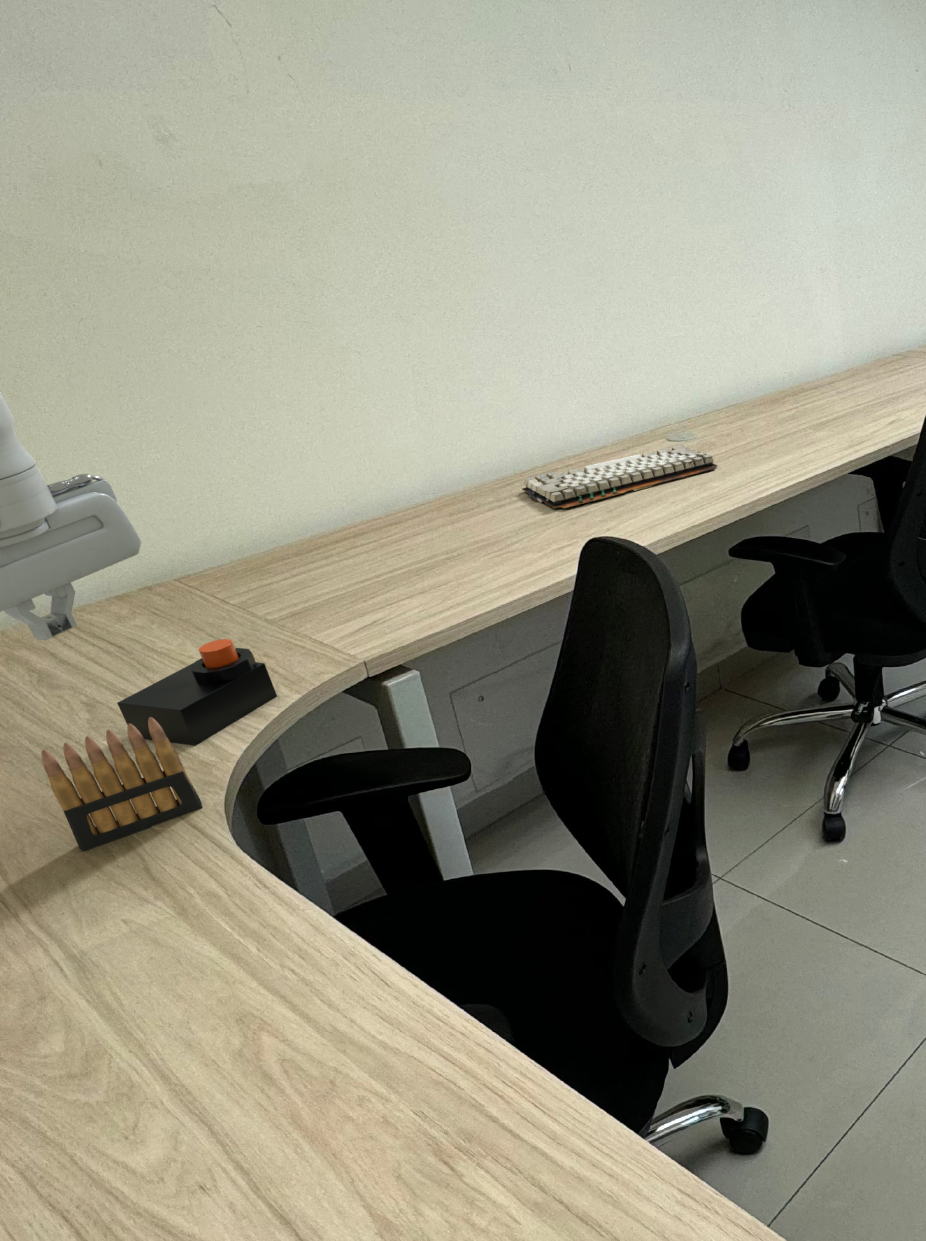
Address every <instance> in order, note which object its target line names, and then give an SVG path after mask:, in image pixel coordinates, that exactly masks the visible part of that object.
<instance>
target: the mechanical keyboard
mask: <svg viewBox="0 0 926 1241" xmlns="http://www.w3.org/2000/svg"><path fill="white" fill-rule="evenodd" d="M714 462H715V460H714V458H713V455H712V454H709V453H707V452H705V451H703V452H702V451H700V450H695V449H691V447H689V446H685V445H684V444H679V445H676V446H672V447H671V449H670V448H669V447H666V448H663V449H658V450H656V452H655V451H650V452H645V453H642V454H641V455H640V454H634V455H633V454H632V455H630V456H625V457H620V458H615V459H611V460H607V461H602V462H598V463H594V464H590V465H586V466H584V469H582V468H581V467H579V468H574V469H570V470H567V473H566V472H565V471H561V472H558V473H557V472H555V471H554V470H551V471H549V472H546V475H544V474H543V473H540V474H537V475H535V476H534V477H533V476H527V477H524V480H523V485H525V487H522V488H521V491H524V492H526V494H527V495H528V496H529V498H530V499H533V500H534V502H539V503H540V504H542V502H543V503H545V504H546V505H547V506H549V507H552V508H553V509H556V508H562V509H567V508H571V507H574V506H579V505H582V504H587V503H590V502H595V501H599V500H602V499H606V498H610V497H614V496H619V495H621V494H625V493H627V492H630V491H634V492H636V491H639V490H643V489H647V488H651V487H652V486H655V485H659V484H662V483H666V482H669V481H675V480H677V479H683V478H686V477H689V476H693V475H698V474H701V473H705V472H709V471H713V470H715V468H716V467H718V464H715V463H714Z"/></svg>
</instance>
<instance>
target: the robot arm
mask: <svg viewBox="0 0 926 1241" xmlns="http://www.w3.org/2000/svg"><path fill="white" fill-rule="evenodd" d="M16 431H17V430H16V420H15V418H14V416H13V413H12V411H11V409H10V407H9V405H8V404H7V401H6V399H5V398H4V396H3V394H2V392H1V391H0V613H2V612H4V613H5V614H6V615H8V616H10V617H11V618H14V619H15V620H17V621H19V622H21V623H23V624H25V625H27V626H28V628H29V630H30V632H31V634H32V635H33V637H34V638H35V639H36V640H39V641H48V640H50V639H53V638H54V637H57V636H59V635H61V634H64V633H66V632H68V631H70V630H72V629H75V628H76V627H77V626H78V624H77V622H76V620H75V617H74V616H73V613H72V611H73V606H74V602H75V601H74V600H75V596H76V590H75V589H74V587H73V584H72V583H73V582H76V581H77V580H81V579H83V578H86V577H88V576H89V575H92V574H95V573H97V572H99V571H101V570H104V569H106V568H109V567H112V566H114V565H116V564H118V563H121V562H123V561H126V560H128V559H130V558H133V557H135V556H137V555H138V554H140V551H141V548H142V540H141V537H140V536H139V534H138V532H137V530H136V528H135V526H134V525H133V523H132V522H131V519H129V517H128V515H127V514H126V512H125V511H124V510H123V508H122V507H121V505H120V504H119V503H118V499H117V496H116V494H115V491H114V489H113V487H112V485H111V483H109V481H108V480H106V479H104V478H103V477H101V476H98V475H90V474H88V473H82V474H78V475H74V476H72V477H71V478H68V479H66V480H62V481H56V482H53V483H50V484H47V483H46V481H45V478H44V477H43V474H42V472H41V470H40V468H39V465H38V464H37V462H36V459H35V458H34V457H33V456H32V454H31V453H30V452H29V451H28V450H26V448H25V447H24V446H23V444H22V443H21V441H20V439H19V437H18V435H17V432H16ZM42 595H45V596H47V597H51V602H50V603H51V604H50V613H47V614H46V615H43V616H42V617H40V616H39V615H37V614H35V613H34V612H32V611H33V610H36V605H35V603H34V601H33V599H35V598H37V597H39V596H42Z"/></svg>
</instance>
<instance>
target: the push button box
mask: <svg viewBox="0 0 926 1241" xmlns="http://www.w3.org/2000/svg"><path fill="white" fill-rule="evenodd" d="M235 650H236V652H237V654H238V657H239V659H238V660H236V661H234V662H232V663H230V664H228V665H224V666H221V667H215V668H206V667H205V664H204V662H203V659H202V657H201V658H199V659H197V660H195V661H194V662H193V663H190V664H189V665H186V666H185V667H183V668H181V669H179V670H176V671H175V672H173V673H171V674H170V675H167V676H165V677H164V678H162V679H159V680H158V681H156V682H153V683H152V684H150V685H149V686H146V687H145V688H142V689H141V690H139V691H137V692H135V693H133V694H131V695H129V696H127V697H125V698H124V699H122V700H120V701H118V702H117V703H116V704H117V707H118V708H119V710H120V712H121V714H122V716H123V719H124V721H125V723H126V724H127V726H128V724H129V723H130V724H132V725H134V726H135V727H136V728H137V729H138V731H139V732H140V733H141V735H142V736H143V738H144V740H149V741H153V740H152V737H151V735H150V731H149V726H148V720H149V717H152V718H153V719H155V720H156V721H157V722H158V723H159V725H160V726H161V727H162V729H163V731H164V732H165V734H166V736H167V738H168V740H169V741H170V743H171V744H172V743H173V744H178V745H179V744H180V745H186V746H195V747H196V746H198V745H199V744H201V743H203V742H204V741H206V740H207V739H209V738H211V737H213V736H214V735H216V734H217V733H219V732H221V731H223V730H225V729H226V728H228V727H229V726H231V725H233V724H234V723H236V722H237V721H239V720H241V719H243V718H244V717H247V716H248V715H250V714H251V713H253V712H254V711H256V710H257V709H259V708H261V707H262V706H264V705H266V704H267V703H269V702H271V701H272V700H274V699H276V698H277V697H278V694H277V692H276V689H275V688H274V687H275V686H274V684H273V681H272V679H271V677H270V673H269V671H268V669H267V666H266V663H265V662H256V660H255V657H254V654H253V652H252V651H251V650H250V649H249V648H243V647H235Z"/></svg>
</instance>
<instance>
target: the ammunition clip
mask: <svg viewBox="0 0 926 1241" xmlns="http://www.w3.org/2000/svg"><path fill="white" fill-rule="evenodd" d="M148 726H149V731H150V735H151V737H152V740H151V741H152V743H153V745H154V748H155V753H156V755H155V754H154V752H153V751H152V750H151V748H150V747H149V745H148V743H147V741H146V739H144V738H143V736H142V735H141V733H140V732H139V731H138V729H137V728H136V727H135V726H134V725H132V724H130V723H129V724H128V725H127V727H126V728H127V731H126V732H127V737H128V740H129V743H130V745H131V748H132V751H133V753H134V756H135V761H136V763H135V761H134V760H133V758H132V757H131V756H130V754H129V753H128V751H127V749H126V748H125V745H124V744H123V742H122V741H121V739H120V738H119V737H118V736H117V735H116V734H115V733H114V732H113V731H112V730H111V729H107V730H106V732H105V739H106V744H107V747H108V750H109V752H110V754H111V758H112V760H113V763H114V764H113V765H114V766H112V765H111V763H110V762H109V760H108V759H107V757H106V756H105V754H104V752H103V750H102V749H101V747H100V746H99V744H98V743H97V742H96V741H95V740H94V739H93V738H92V737H91V736H89V735H87V736H85V738H84V746H85V751H86V754H87V757H88V759H89V761H90V764H91V766H92V769H93V773H92V772H91V771H90V769H88V767H87V766H86V763H85V762H84V761H83V759H82V757H81V755H80V754H79V753H78V752H77V750H76V749H75V748H74V747H73V746H72V745H71V744H69V743H68V742H64V743H63V747H62V749H63V756H64V759H65V762H66V764H67V767H68V770H69V772H70V774H71V777H72V780H71V779H70V778H69V777H68V776H67V775H66V773H65V771H64V769H63V768H62V766H61V765H60V763H59V761H58V760H57V759H56V758H55V757H54V755H52V754H51V752H49V751H48V750H46V749H42V750H41V762H42V766H43V769H44V772H45V773H46V775H47V779H48V780H49V783H50V787H51V791H52V792H53V794H54V796H55V798H56V801H57V802H58V804H59V806H60V808H61V809H62V812H63V813H64V816H65V818H66V821H67V822H68V825H69V828H70V830H71V832H72V834H73V837H74V839H75V841H76V844H77V846H78V848H79V850H80V851H81V852H85V851H88V850H90V849H93V848H96V847H100V846H102V845H105V844H108V843H110V842H113V841H116V840H119V839H122V838H124V837H128V836H130V835H133V834H135V833H138V832H141V831H144V830H147V829H149V828H152V827H154V826H157V825H159V824H162V823H165V822H169V821H170V820H174V819H176V818H180V817H182V816H184V815H185V816H186V815H188V814H191V813H193V812H197V811H199V810H201V809H203V804H202V800H201V798H200V796H199V795H198V793H197V790H196V789H195V786H194V785H193V783H192V782H191V780H190V778H189V776H188V774H187V772H186V769H185V768H184V766H183V763H182V760H181V758H180V756H179V754H178V752H177V749H176V748H175V747H174V746H173V744H172V743H171V742H170V741H169V740H168V738H167V736H166V734H165V732H164V731H163V729H162V727H161V726H160V725H159V723H158V722H157V721H156V720H155V719H153V718H152V717H149V720H148ZM156 756H157V757H156ZM137 766H138V767H137ZM138 768H139V769H138ZM93 774H94V775H93Z"/></svg>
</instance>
